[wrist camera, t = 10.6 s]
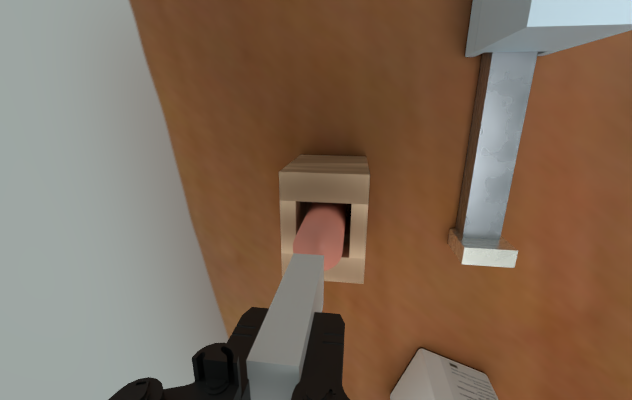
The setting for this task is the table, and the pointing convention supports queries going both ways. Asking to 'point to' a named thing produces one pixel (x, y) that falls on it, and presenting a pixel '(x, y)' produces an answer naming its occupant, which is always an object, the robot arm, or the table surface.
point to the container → (441, 380)
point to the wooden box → (329, 187)
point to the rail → (492, 159)
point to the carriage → (543, 24)
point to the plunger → (322, 232)
